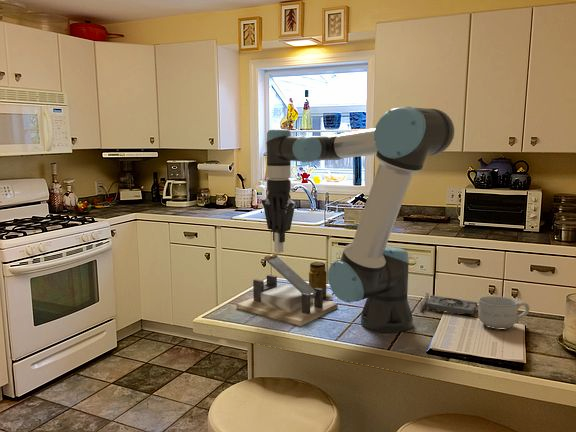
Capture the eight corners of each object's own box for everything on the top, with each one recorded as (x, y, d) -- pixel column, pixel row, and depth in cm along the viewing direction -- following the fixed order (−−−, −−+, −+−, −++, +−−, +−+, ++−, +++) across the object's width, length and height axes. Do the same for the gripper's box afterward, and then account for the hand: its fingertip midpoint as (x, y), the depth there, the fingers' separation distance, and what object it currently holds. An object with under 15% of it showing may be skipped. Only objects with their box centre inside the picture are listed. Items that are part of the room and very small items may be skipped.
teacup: (476, 330, 146) (478, 303, 145) (476, 317, 156) (478, 292, 155) (530, 336, 141) (532, 308, 140) (526, 323, 151) (528, 297, 150)
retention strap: (317, 296, 160) (320, 292, 160) (308, 300, 156) (310, 296, 156) (273, 256, 170) (275, 252, 169) (263, 259, 166) (265, 255, 165)
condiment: (307, 294, 180) (308, 260, 179) (331, 294, 180) (332, 261, 178) (307, 300, 173) (307, 266, 171) (332, 300, 173) (333, 266, 171)
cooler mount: (337, 307, 165) (337, 282, 164) (301, 326, 150) (300, 298, 148) (275, 293, 181) (275, 270, 180) (236, 308, 166) (236, 283, 164)
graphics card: (416, 302, 161) (426, 291, 171) (416, 313, 162) (425, 302, 172) (472, 311, 153) (478, 299, 163) (471, 323, 154) (478, 310, 164)
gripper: (302, 179, 160) (302, 252, 164) (270, 177, 168) (270, 247, 172) (287, 181, 154) (287, 257, 158) (255, 178, 162) (256, 251, 166)
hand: (278, 251), depth 165 cm, fingers closed
